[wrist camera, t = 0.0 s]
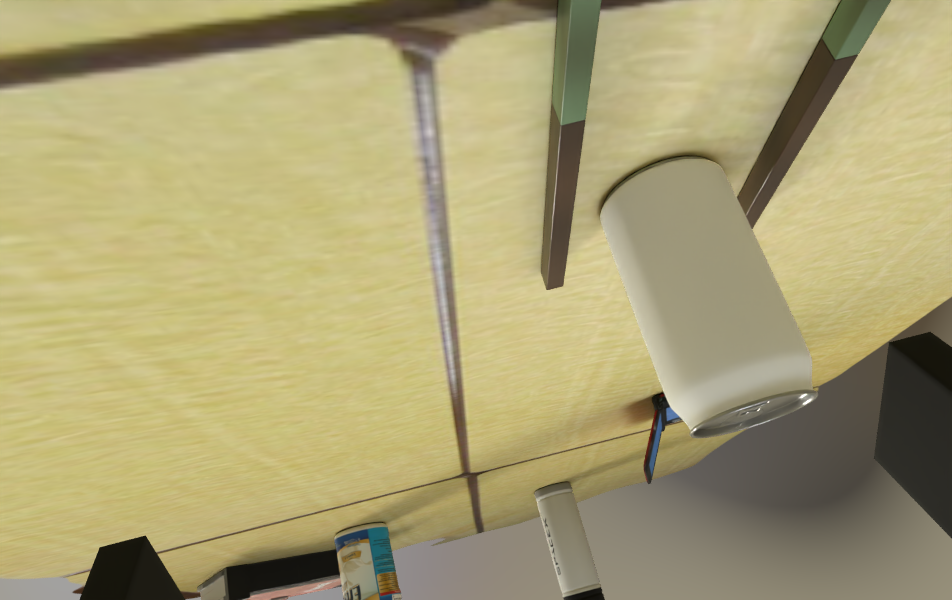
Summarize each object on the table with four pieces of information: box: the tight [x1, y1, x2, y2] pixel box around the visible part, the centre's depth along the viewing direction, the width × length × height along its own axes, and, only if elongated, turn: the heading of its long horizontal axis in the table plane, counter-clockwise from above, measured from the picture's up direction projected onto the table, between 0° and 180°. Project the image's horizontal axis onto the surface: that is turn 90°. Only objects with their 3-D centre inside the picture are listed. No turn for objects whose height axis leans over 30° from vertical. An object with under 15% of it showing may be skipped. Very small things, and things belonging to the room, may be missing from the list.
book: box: [197, 550, 342, 600], centre depth 123 cm, size 26×18×5 cm
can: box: [600, 156, 818, 438], centre depth 33 cm, size 6×6×12 cm
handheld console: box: [644, 394, 682, 484], centre depth 79 cm, size 12×11×7 cm
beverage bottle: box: [334, 523, 401, 600], centre depth 104 cm, size 8×8×20 cm
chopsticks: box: [541, 0, 891, 290], centre depth 30 cm, size 24×12×1 cm, turn 3°
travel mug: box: [534, 482, 605, 600], centre depth 114 cm, size 6×7×20 cm
